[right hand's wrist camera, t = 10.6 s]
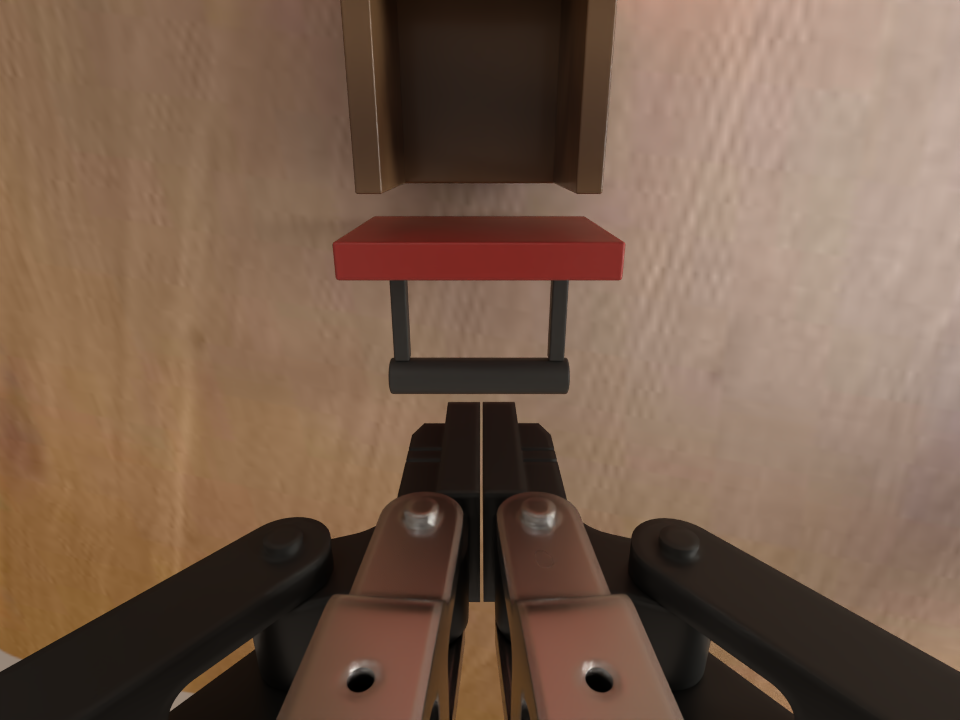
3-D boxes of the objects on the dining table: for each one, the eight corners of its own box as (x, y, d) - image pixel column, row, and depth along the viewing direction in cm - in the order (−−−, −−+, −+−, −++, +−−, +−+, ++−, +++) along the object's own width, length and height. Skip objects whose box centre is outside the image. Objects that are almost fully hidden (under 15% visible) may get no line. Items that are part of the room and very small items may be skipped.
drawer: (575, 362, 25) (608, 434, 19) (383, 362, 25) (350, 434, 19) (622, -321, 17) (708, -606, 11) (335, -321, 17) (248, -606, 11)
